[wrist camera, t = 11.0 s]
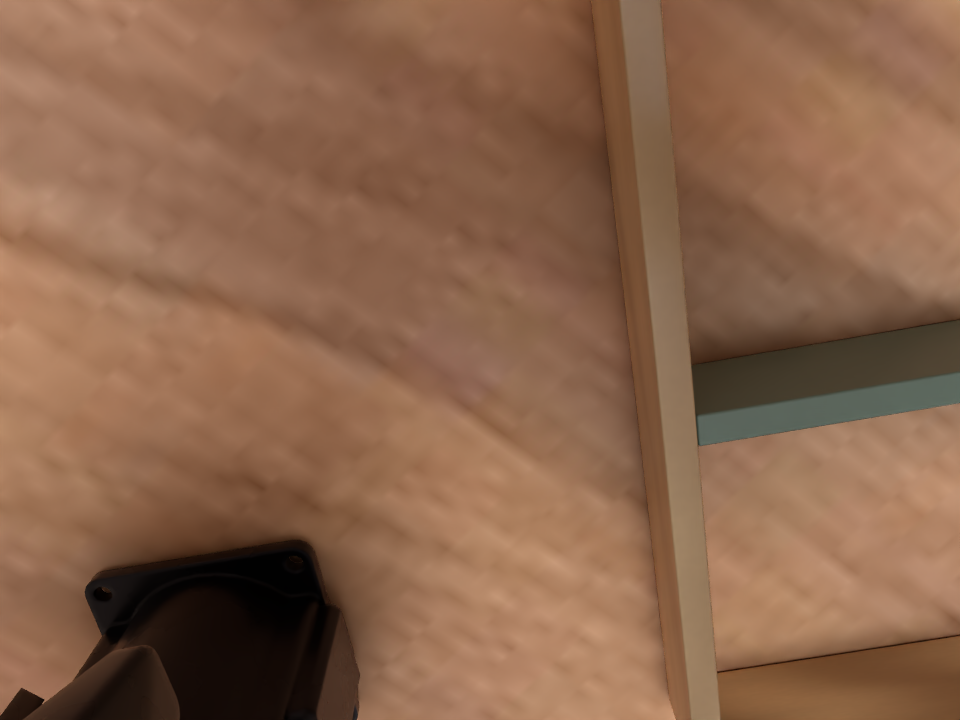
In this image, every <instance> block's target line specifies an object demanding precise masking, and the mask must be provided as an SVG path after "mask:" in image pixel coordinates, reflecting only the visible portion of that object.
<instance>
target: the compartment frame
mask: <svg viewBox="0 0 960 720" xmlns="http://www.w3.org/2000/svg"><path fill="white" fill-rule="evenodd" d="M591 7H592V16H593V24H594V33H595V42H596V51H597V60H598V69H599V78H600V87H601V96H602V105H603V113H604V122H605V131H606V140H607V149H608V158H609V167H610V176H611V185H612V194H613V202H614V211H615V220H616V229H617V238H618V247H619V256H620V265H621V274H622V283H623V291H624V300H625V309H626V318H627V327H628V336H629V345H630V354H631V363H632V372H633V380H634V389H635V398H636V407H637V416H638V425H639V434H640V443H641V452H642V461H643V469H644V478H645V487H646V496H647V505H648V514H649V523H650V532H651V541H652V550H653V559H654V567H655V576H656V585H657V594H658V603H659V612H660V621H661V630H662V639H663V648H664V656H665V665H666V674H667V683H668V692H669V700H670V703H671V706H672V709H673V712H674V715H675V718H676V720H960V636H956V637H950V638H943V639H937V640H930V641H924V642H917V643H910V644H904V645H897V646H891V647H884V648H878V649H871V650H865V651H858V652H852V653H845V654H839V655H832V656H826V657H819V658H813V659H806V660H800V661H793V662H786V663H780V664H773V665H767V666H760V667H754V668H747V669H741V670H734V671H728V672H721V673H717V667H716V655H715V643H714V631H713V619H712V607H711V595H710V583H709V571H708V559H707V547H706V535H705V523H704V511H703V499H702V487H701V475H700V463H699V451H698V445H699V446H703V445H709V444H716V443H722V442H728V441H734V440H740V439H746V438H752V437H758V436H764V435H770V434H776V433H782V432H788V431H794V430H800V429H806V428H812V427H818V426H824V425H830V424H837V423H843V422H849V421H855V420H861V419H867V418H873V417H879V416H885V415H891V414H897V413H903V412H909V411H915V410H921V409H927V408H933V407H939V406H945V405H951V404H958V403H960V320H956V321H950V322H944V323H938V324H932V325H926V326H921V327H915V328H909V329H903V330H897V331H891V332H885V333H879V334H873V335H867V336H862V337H856V338H850V339H844V340H838V341H832V342H826V343H820V344H814V345H808V346H803V347H797V348H791V349H785V350H779V351H773V352H767V353H761V354H755V355H749V356H744V357H738V358H732V359H726V360H720V361H714V362H708V363H702V364H696V365H691V354H690V342H689V330H688V318H687V306H686V294H685V282H684V270H683V258H682V246H681V234H680V222H679V210H678V198H677V186H676V174H675V162H674V150H673V138H672V126H671V114H670V102H669V90H668V78H667V66H666V54H665V42H664V30H663V18H662V6H661V0H591Z"/></svg>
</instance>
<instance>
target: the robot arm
mask: <svg viewBox="0 0 960 720" xmlns="http://www.w3.org/2000/svg"><path fill="white" fill-rule="evenodd" d="M290 556H298V557H300V558H301V559H302V560H303V562H300V563H296V562H293V561H291V560H290V558H289V557H290ZM101 587H105V588H107V589H109V590H110V591H111V593H107V592H105V591H103V590H102V588H101ZM85 596H86V599H87V601H88V604H89V606H90V608H91V611H92V613H93V615H94V618H95V620H96V622H97V625H98V627H99V629H100V632H101V634H102V638H101V639H100V641H99V642H98V644H97V645H96V647H95V648H94V650H93V651H92V653H91V654H90V656H89V658H88V659H87V661H86V662H85V664H84V665H83V667H82V668H81V670H80V671H79V673H78V674H77V676H76V677H75V679H74V680H73V681H72V682H71V683H70V684H69V685H67V686H66V687H65V688H63V689H62V690H61V691H59V692H58V693H57V694H56V695H54V696H53V697H52V698H50V699H49V700H48V701H46V702H45V703H44V704H43V705H42V703H43V701H44V699H42V698H40V697H38V696H37V695H35V694H33V693H31V692H29V691H27V690H25V689H23V688H21V689H20V690H19V692H18V693H17V694H16V696H15V697H14V698H13V700H12V701H11V702H10V704H9V705H8V706H7V708H6V709H5V710H4V712H3V713H2V714H1V716H0V720H357V718H358V712H359V701H358V697H357V690H358V684H359V678H360V673H359V670H358V666H357V663H356V659H355V656H354V652H353V649H352V645H351V642H350V638H349V635H348V632H347V628H346V625H345V621H344V618H343V614H342V611H341V609H339V608H338V607H337V606H336V605H335V604H330V602H329V599H328V596H327V592H326V589H325V585H324V582H323V579H322V575H321V572H320V568H319V565H318V562H317V558H316V555H315V552H314V550H313V548H312V547H311V546H310V545H309V544H308V543H307V542H304V541H301V540H290V541H284V542H278V543H272V544H266V545H260V546H254V547H248V548H242V549H236V550H229V551H223V552H217V553H211V554H205V555H199V556H193V557H187V558H181V559H175V560H168V561H162V562H156V563H150V564H144V565H138V566H132V567H126V568H120V569H113V570H107V571H102V572H100V573H97V574H96V575H95V576H94V577H93V578H92V580H91V581H90V582H89V583H88V585H87V586H86V589H85Z"/></svg>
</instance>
